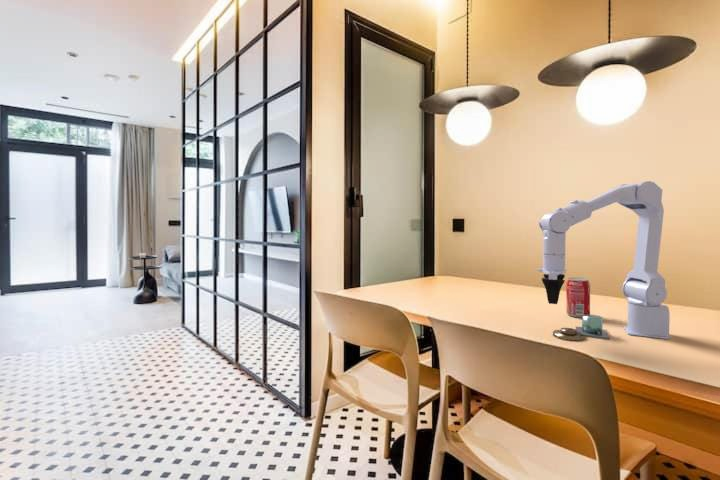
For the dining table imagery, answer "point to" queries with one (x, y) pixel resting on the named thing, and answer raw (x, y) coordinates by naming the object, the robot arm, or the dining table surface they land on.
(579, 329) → the coaster
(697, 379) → the dining table surface
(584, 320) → the teal mug
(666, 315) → the robot arm
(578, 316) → the soda can
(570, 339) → the bronze metal disc
